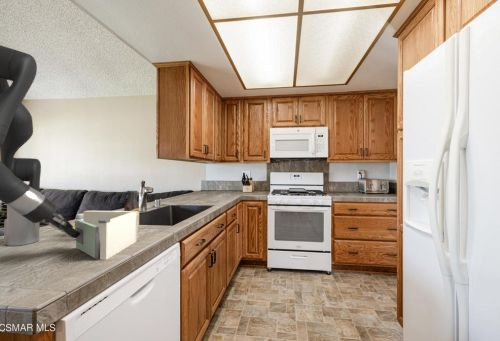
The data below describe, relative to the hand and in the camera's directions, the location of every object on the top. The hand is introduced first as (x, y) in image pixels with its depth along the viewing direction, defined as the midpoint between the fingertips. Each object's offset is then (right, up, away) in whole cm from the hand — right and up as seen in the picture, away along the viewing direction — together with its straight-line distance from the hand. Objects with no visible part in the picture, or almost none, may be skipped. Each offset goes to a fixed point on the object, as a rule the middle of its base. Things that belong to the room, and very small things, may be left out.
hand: (76, 235), depth 82 cm
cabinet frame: (+4, -6, +3) cm, 8 cm away
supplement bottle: (-12, -6, +19) cm, 24 cm away
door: (+5, -5, -2) cm, 7 cm away
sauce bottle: (+8, -6, +22) cm, 24 cm away
